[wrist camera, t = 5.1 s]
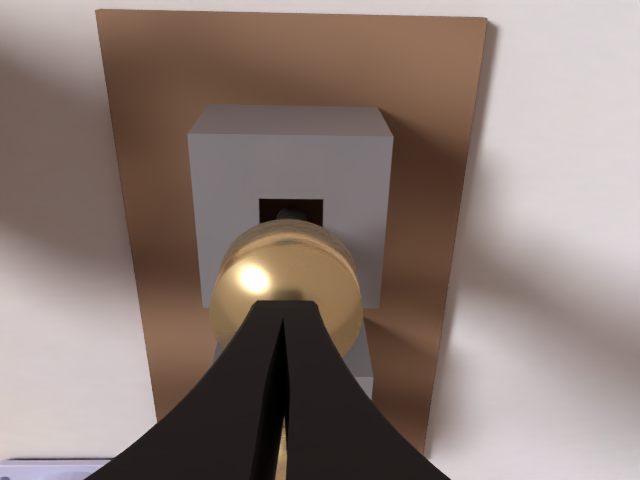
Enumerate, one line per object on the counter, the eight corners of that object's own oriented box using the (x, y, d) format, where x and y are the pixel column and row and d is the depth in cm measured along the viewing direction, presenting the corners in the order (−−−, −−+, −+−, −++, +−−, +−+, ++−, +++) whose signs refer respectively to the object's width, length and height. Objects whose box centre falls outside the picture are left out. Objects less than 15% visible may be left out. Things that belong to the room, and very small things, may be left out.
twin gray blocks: (356, 420, 26) (364, 489, 22) (230, 420, 26) (219, 490, 22) (377, 106, 19) (393, 136, 16) (208, 103, 19) (187, 133, 16)
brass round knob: (344, 268, 18) (358, 377, 13) (238, 268, 18) (214, 376, 13) (349, 168, 17) (367, 249, 12) (233, 167, 17) (203, 248, 12)
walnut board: (419, 454, 28) (421, 464, 27) (166, 455, 27) (163, 465, 27) (482, 17, 19) (487, 18, 18) (101, 8, 18) (95, 10, 18)
